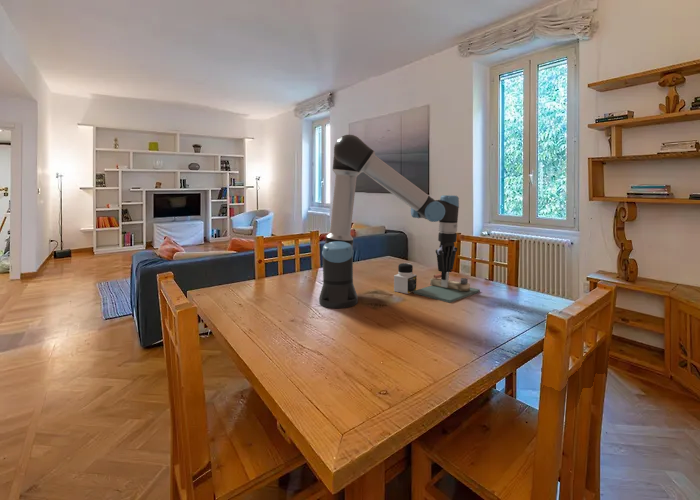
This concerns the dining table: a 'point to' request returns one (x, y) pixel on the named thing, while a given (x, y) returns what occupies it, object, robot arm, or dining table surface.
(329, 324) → the dining table surface
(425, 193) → the robot arm
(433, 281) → the beige lumpy bar
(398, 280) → the medicine bottle
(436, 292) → the pintle board
